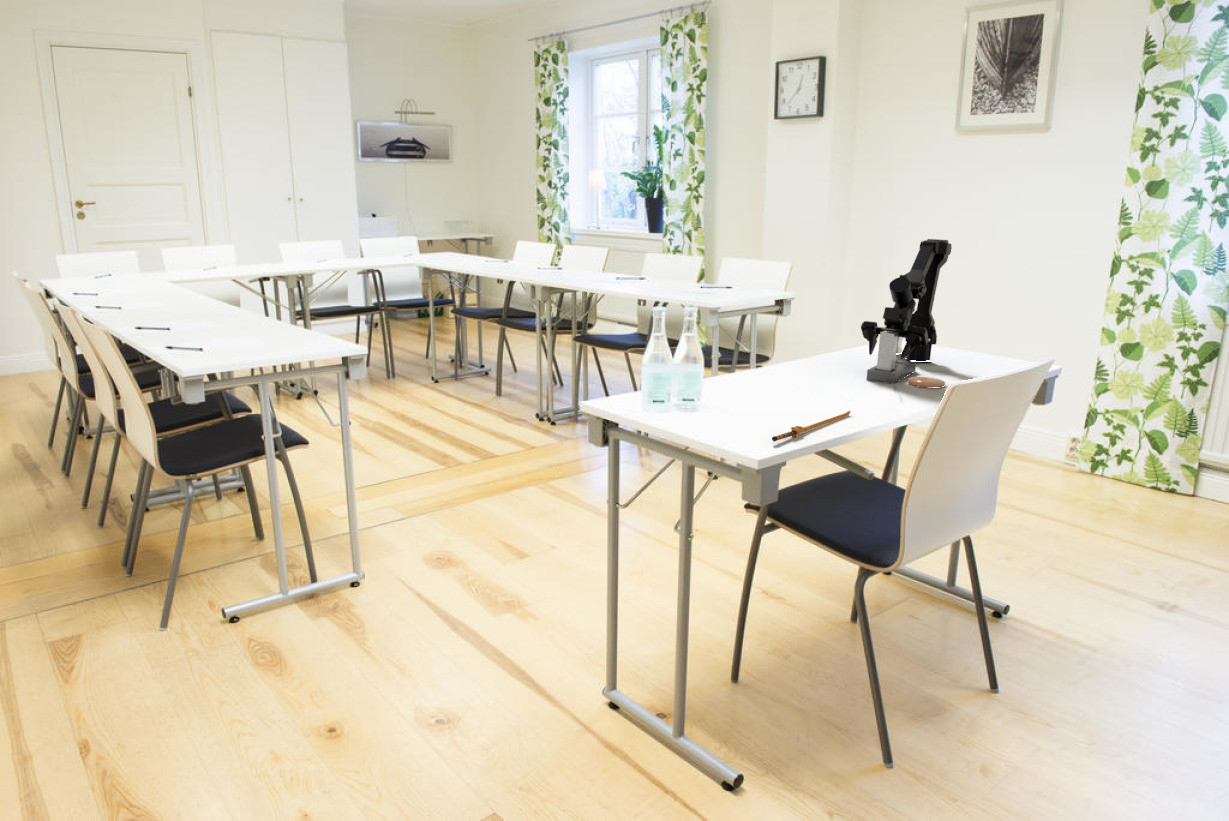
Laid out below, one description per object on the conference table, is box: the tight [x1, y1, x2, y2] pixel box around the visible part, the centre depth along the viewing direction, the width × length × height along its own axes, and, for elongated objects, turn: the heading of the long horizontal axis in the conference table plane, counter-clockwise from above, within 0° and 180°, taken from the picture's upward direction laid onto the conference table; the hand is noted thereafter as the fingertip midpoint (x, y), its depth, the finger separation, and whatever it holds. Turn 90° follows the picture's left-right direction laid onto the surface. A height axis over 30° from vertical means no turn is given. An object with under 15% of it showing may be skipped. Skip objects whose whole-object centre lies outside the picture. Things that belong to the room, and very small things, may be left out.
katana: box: [771, 410, 852, 442], centre depth 200 cm, size 1×35×3 cm, turn 138°
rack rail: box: [866, 359, 917, 384], centre depth 256 cm, size 20×8×3 cm, turn 145°
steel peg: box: [876, 331, 899, 372], centre depth 249 cm, size 4×4×14 cm
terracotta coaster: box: [907, 376, 946, 388], centre depth 246 cm, size 10×10×1 cm
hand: (885, 356), depth 248 cm, fingers open, 9 cm apart
